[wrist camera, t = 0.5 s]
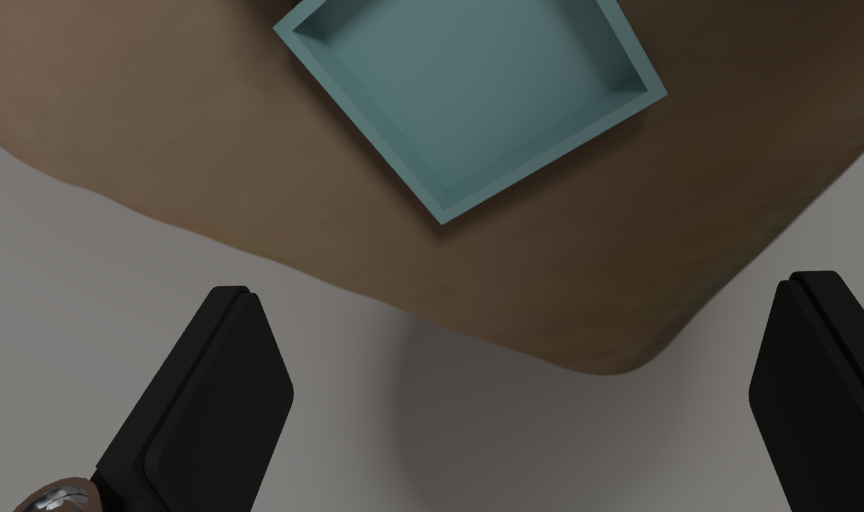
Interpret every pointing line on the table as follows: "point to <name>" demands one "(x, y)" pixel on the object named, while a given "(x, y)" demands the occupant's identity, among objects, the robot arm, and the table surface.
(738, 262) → the table surface
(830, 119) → the table surface
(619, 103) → the tray
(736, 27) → the table surface
